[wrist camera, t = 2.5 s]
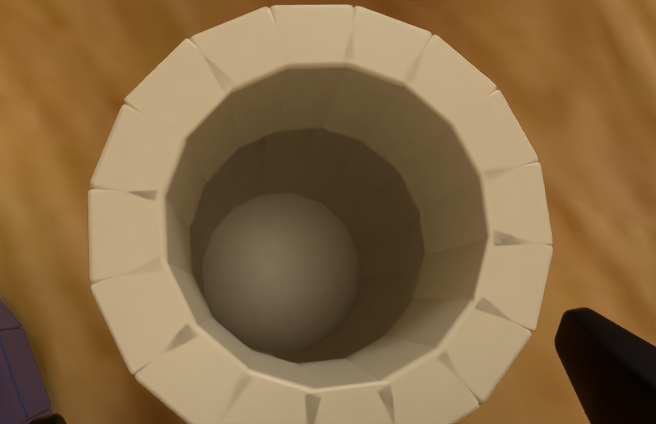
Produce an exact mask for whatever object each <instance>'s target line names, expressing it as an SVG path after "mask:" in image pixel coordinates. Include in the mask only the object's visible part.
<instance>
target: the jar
mask: <svg viewBox="0 0 656 424" xmlns="http://www.w3.org/2000/svg"><path fill="white" fill-rule="evenodd" d="M496 88H497V86H496V85H495V84H494V83H493V82H492V81H491V80H489V79H488V78H487V77H486V76H485V75H483V74H482V73H481V72H480V71H479V70H478V69H476V68H475V67H474V66H473V65H472V64H471V63H469V62H468V61H467V60H466V59H465V58H463V57H462V56H461V55H460V54H459V53H458V52H456V51H455V50H454V49H453V48H452V47H450V46H449V45H448V44H447V43H446V42H445V41H443V40H442V39H441V38H440V37H439V36H438V35H432V33H430V32H429V31H427V30H424V29H421V28H418V27H416V26H413V25H410V24H407V23H405V22H402V21H399V20H396V19H394V18H391V17H388V16H386V15H383V14H380V13H377V12H375V11H372V10H369V9H366V8H364V7H361V6H355V7H354V8H353V7H352V5H349V4H345V5H274V6H271V8H270V9H269V8H268V7H263V8H260V9H258V10H255V11H253V12H250V13H248V14H245V15H243V16H240V17H238V18H235V19H233V20H231V21H228V22H226V23H223V24H221V25H218V26H216V27H213V28H211V29H208V30H206V31H203V32H201V33H198V34H196V35H193V36H192V37H191V38H190V40H189V39H185V40H184V41H183V42H182V43H181V44H180V45H179V46H178V47H177V48H176V49H175V50H174V51H172V52H171V53H170V54H169V55H168V56H167V57H166V58H165V59H164V60H163V61H162V62H161V63H160V64H159V65H158V66H157V67H156V68H155V69H154V70H153V71H152V72H151V73H150V74H149V75H148V76H147V77H146V78H145V79H144V80H143V81H142V82H141V83H140V84H139V85H138V86H137V87H136V88H135V89H134V90H133V91H132V92H131V93H130V94H129V95H128V96H126V97H125V99H124V102H125V104H126V105H123V106H122V107H121V108H120V110H119V113H118V115H117V118H116V120H115V123H114V125H113V127H112V130H111V132H110V135H109V137H108V140H107V142H106V144H105V147H104V149H103V152H102V154H101V157H100V159H99V161H98V164H97V166H96V169H95V171H94V173H93V176H92V178H91V181H90V188H92V189H91V190H89V192H88V195H87V212H88V256H89V280H90V282H91V284H92V286H91V287H90V288H91V292H92V295H93V297H94V299H95V301H96V303H97V305H98V307H99V309H100V311H101V313H102V316H103V318H104V320H105V322H106V324H107V326H108V328H109V330H110V332H111V335H112V337H113V339H114V341H115V343H116V345H117V347H118V349H119V351H120V354H121V356H122V358H123V360H124V362H125V364H126V366H127V368H128V370H129V373H131V374H132V375H135V379H136V381H137V382H138V383H140V384H141V385H142V386H143V387H144V388H145V389H147V390H148V391H149V392H150V393H151V394H153V395H154V396H155V397H156V398H157V399H158V400H160V401H161V402H162V403H163V404H164V405H165V406H167V407H168V408H169V409H170V410H171V411H172V412H174V413H175V414H176V415H177V416H178V417H180V418H181V419H182V420H183V421H184V422H185V423H187V424H455V423H457V422H458V421H460V420H462V419H463V418H465V417H466V416H468V415H470V414H471V413H473V412H474V411H476V410H477V409H478V408H479V404H483V403H484V402H486V400H487V399H488V397H489V396H490V395H491V393H492V392H493V390H494V389H495V387H496V386H497V385H498V383H499V382H500V380H501V379H502V377H503V376H504V374H505V373H506V372H507V370H508V369H509V367H510V366H511V364H512V363H513V362H514V360H515V359H516V357H517V356H518V354H519V353H520V351H521V350H522V349H523V347H524V346H525V344H526V343H527V341H528V340H529V339H530V337H531V334H532V333H531V332H533V331H535V329H536V326H537V321H538V317H539V312H540V308H541V303H542V299H543V294H544V289H545V285H546V280H547V276H548V271H549V267H550V262H551V258H552V253H553V247H552V244H553V239H552V233H551V227H550V220H549V214H548V207H547V201H546V195H545V188H544V182H543V175H542V169H541V165H540V163H537V161H538V157H537V155H536V153H535V152H534V150H533V148H532V146H531V144H530V143H529V141H528V139H527V137H526V136H525V134H524V132H523V130H522V129H521V127H520V125H519V123H518V121H517V120H516V118H515V116H514V114H513V113H512V111H511V109H510V107H509V106H508V104H507V102H506V100H505V98H504V97H503V95H502V93H501V92H500V91H499V90H496Z"/></svg>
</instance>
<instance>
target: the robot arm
mask: <svg viewBox="0 0 656 424" xmlns="http://www.w3.org/2000/svg"><path fill="white" fill-rule="evenodd" d="M555 348H556V351H557V353H558V355H559V358H560V360H561V362H562V364H563V366H564V368H565V371H566V373H567V375H568V377H569V379H570V381H571V383H572V386H573V388H574V390H575V392H576V394H577V396H578V398H579V401H580V403H581V405H582V407H583V409H584V411H585V413H586V415H587V417H588V419H589V421H590V423H591V424H656V347H655V346H653V345H652V344H650V343H648V342H646V341H645V340H643V339H641V338H640V337H638V336H636V335H634V334H633V333H631V332H629V331H628V330H626V329H624V328H622V327H621V326H619V325H617V324H616V323H614V322H612V321H610V320H609V319H607V318H605V317H604V316H602V315H600V314H598V313H597V312H595V311H593V310H591V309H589V308H585V307H581V308H576V309H572V310H567V311H566V312H565V313H564V314H563V316H562V319H561V322H560V324H559V327H558V330H557V333H556V336H555ZM28 424H66V422H65V420H64V418H63V417H62V416H61V415H59V414H52V415H47V416H42V417H37V418H35V419H33V420H31V421H30V422H29V423H28Z"/></svg>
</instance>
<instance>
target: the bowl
mask: <svg viewBox="0 0 656 424" xmlns="http://www.w3.org/2000/svg"><path fill="white" fill-rule="evenodd" d="M50 408H51V403H50V401H49V398H48V395H47V392H46V389H45V387H44V384H43V381H42V378H41V375H40V373H39V370H38V367H37V364H36V361H35V359H34V356H33V353H32V350H31V348H30V345H29V342H28V339H27V336H26V334H25V331H24V329H23V328H22V325H21V324H20V323H19V321H18V320H17V319H16V318H15V316H14V315H13V314H12V313H11V312H10V310H9V309H8V308H7V307H6V306H5V304H4V303H3V302H2V301H1V300H0V424H28V423H29V422H30V421H31V420H33V419H35V418H37V417H42V416H47V415H52V409H50Z"/></svg>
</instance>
